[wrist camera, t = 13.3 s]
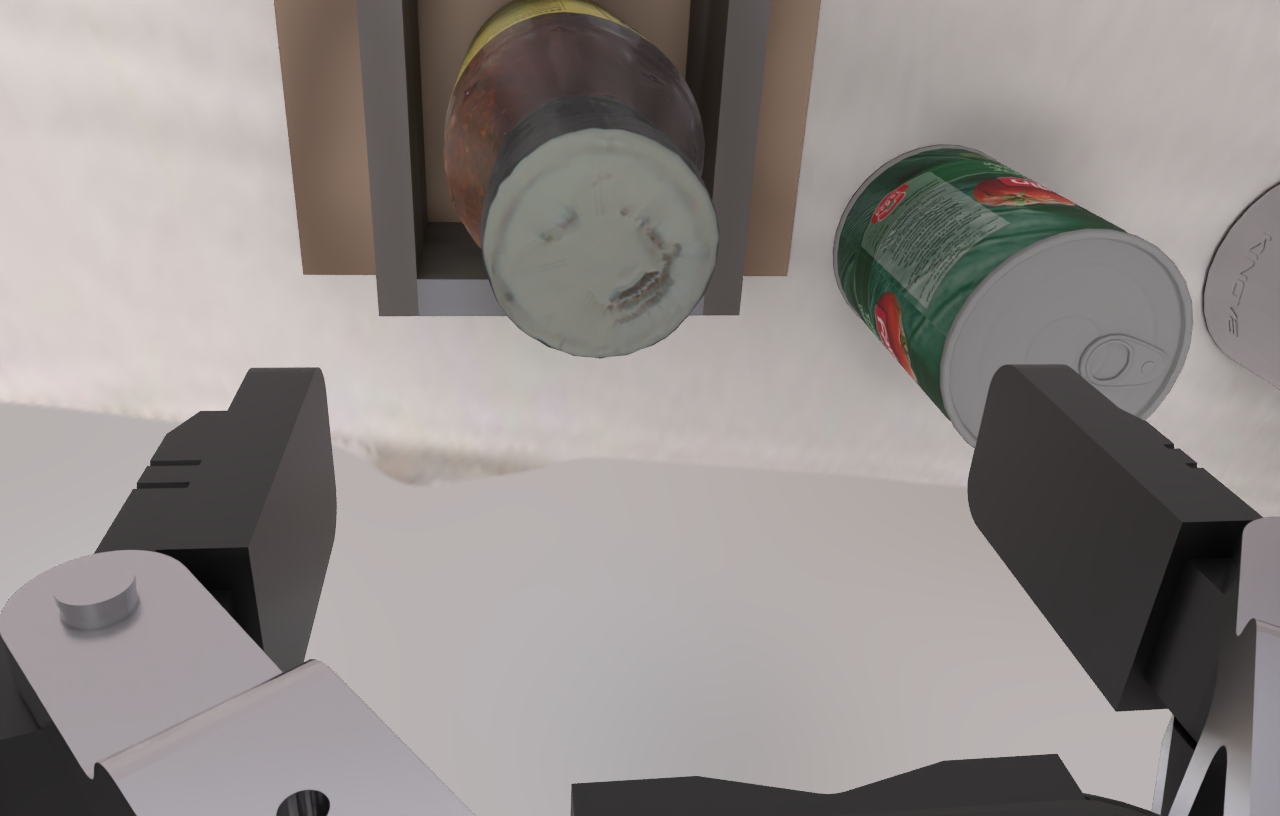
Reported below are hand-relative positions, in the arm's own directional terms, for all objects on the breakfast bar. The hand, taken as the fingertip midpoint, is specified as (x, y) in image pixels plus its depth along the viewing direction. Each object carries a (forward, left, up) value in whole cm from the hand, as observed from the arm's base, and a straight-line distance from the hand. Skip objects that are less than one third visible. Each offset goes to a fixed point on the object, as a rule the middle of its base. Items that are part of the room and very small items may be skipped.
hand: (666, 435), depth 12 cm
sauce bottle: (0, 0, -26) cm, 26 cm away
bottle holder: (0, 0, -26) cm, 26 cm away
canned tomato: (-15, +6, -27) cm, 31 cm away
